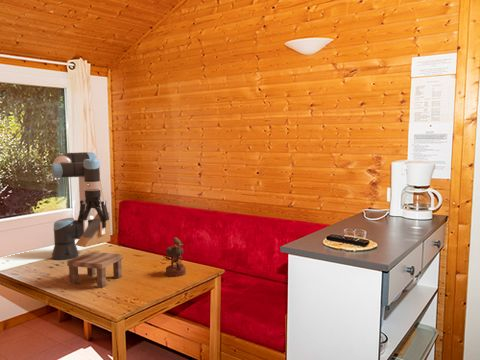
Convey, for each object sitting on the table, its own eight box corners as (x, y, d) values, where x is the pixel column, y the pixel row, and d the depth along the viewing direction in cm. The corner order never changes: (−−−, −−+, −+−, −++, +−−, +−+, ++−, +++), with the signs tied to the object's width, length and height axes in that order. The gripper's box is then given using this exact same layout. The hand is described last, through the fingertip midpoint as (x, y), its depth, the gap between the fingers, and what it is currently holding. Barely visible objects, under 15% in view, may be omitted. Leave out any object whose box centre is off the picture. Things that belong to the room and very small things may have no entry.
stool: (68, 284, 208) (67, 261, 207) (90, 273, 226) (89, 251, 224) (102, 288, 203) (101, 264, 202) (123, 276, 220) (122, 254, 219)
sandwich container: (74, 245, 207) (72, 215, 206) (100, 238, 220) (98, 210, 219) (84, 247, 203) (83, 217, 201) (110, 240, 215) (109, 212, 214)
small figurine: (192, 273, 225) (189, 237, 221) (178, 280, 216) (174, 243, 213) (172, 268, 234) (169, 233, 230) (157, 274, 225) (154, 239, 222)
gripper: (69, 190, 209) (71, 234, 211) (106, 191, 203) (108, 236, 205) (79, 188, 216) (81, 231, 218) (115, 189, 210) (117, 233, 212)
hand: (94, 233), depth 212 cm, fingers closed on sandwich container, 9 cm apart
